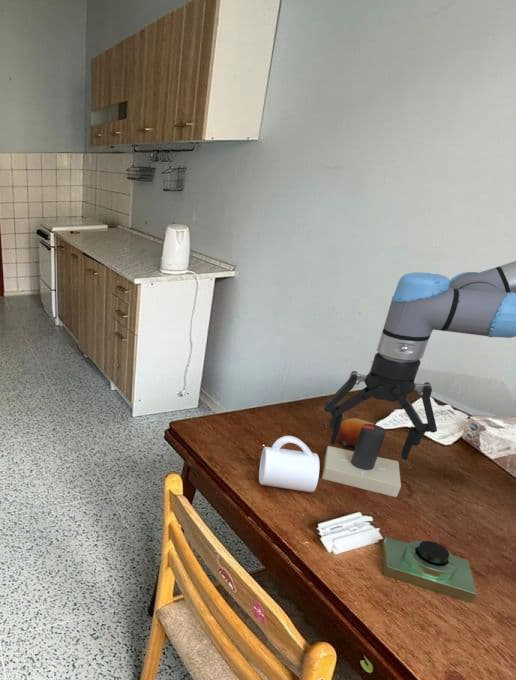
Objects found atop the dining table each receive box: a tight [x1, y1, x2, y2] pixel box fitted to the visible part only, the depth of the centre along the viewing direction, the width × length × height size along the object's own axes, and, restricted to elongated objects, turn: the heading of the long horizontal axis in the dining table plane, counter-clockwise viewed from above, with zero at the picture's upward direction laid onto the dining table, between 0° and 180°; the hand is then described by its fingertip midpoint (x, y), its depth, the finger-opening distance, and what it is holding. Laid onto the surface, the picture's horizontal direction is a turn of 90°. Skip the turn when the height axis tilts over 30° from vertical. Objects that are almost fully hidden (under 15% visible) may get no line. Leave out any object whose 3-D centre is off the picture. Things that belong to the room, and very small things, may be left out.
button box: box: [381, 536, 478, 604], centre depth 79 cm, size 12×8×4 cm, turn 61°
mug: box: [258, 435, 321, 493], centre depth 100 cm, size 8×10×12 cm
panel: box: [321, 445, 402, 498], centre depth 104 cm, size 14×10×3 cm
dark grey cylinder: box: [351, 423, 387, 470], centre depth 101 cm, size 4×4×9 cm
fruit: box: [338, 417, 374, 448], centre depth 114 cm, size 8×8×8 cm
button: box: [417, 540, 450, 566], centre depth 78 cm, size 4×4×2 cm
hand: (367, 448), depth 101 cm, fingers open, 12 cm apart
